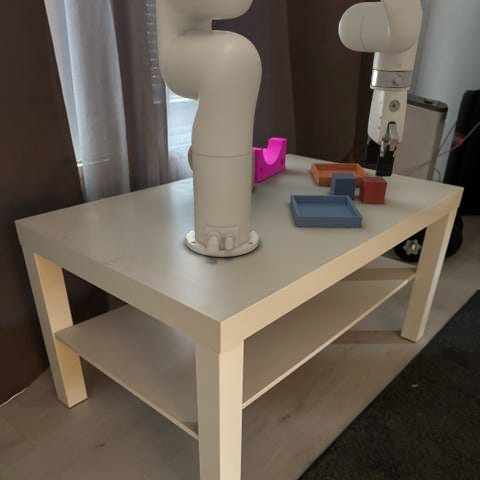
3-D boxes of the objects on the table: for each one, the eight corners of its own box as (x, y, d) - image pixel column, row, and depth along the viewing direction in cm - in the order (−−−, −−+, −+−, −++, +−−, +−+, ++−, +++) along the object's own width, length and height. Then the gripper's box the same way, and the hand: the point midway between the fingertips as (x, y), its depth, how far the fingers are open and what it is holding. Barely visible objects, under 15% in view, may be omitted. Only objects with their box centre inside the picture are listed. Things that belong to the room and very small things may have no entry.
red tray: (369, 186, 115) (370, 177, 113) (318, 185, 114) (319, 177, 113) (357, 171, 126) (358, 163, 125) (310, 170, 126) (311, 162, 124)
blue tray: (360, 227, 91) (362, 217, 90) (296, 226, 91) (297, 216, 90) (347, 204, 103) (348, 195, 102) (290, 203, 102) (290, 194, 101)
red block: (383, 203, 104) (387, 182, 101) (363, 203, 104) (366, 182, 101) (378, 197, 108) (382, 176, 105) (358, 196, 108) (361, 176, 105)
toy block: (264, 165, 129) (265, 136, 125) (285, 168, 127) (286, 139, 123) (235, 178, 118) (235, 146, 114) (257, 182, 116) (258, 150, 112)
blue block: (353, 199, 106) (356, 178, 103) (333, 199, 106) (335, 178, 103) (349, 193, 110) (352, 173, 107) (329, 192, 110) (332, 172, 107)
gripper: (425, 86, 86) (407, 181, 95) (397, 75, 101) (384, 159, 110) (383, 86, 86) (369, 181, 95) (361, 75, 101) (351, 159, 110)
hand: (377, 169), depth 102 cm, fingers open, 9 cm apart
